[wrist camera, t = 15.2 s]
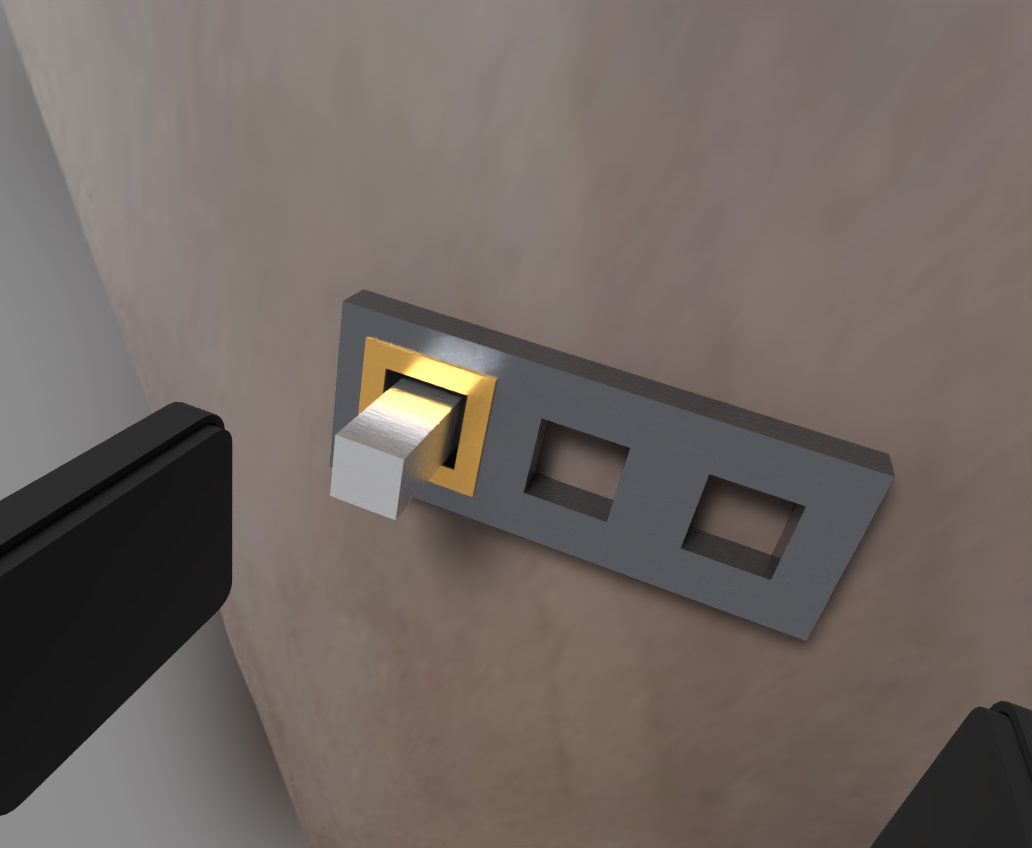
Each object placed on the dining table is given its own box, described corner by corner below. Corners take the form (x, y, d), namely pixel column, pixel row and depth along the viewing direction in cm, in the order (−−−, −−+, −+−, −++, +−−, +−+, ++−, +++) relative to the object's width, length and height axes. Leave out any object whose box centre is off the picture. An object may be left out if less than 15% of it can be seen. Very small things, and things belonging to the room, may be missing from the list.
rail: (889, 454, 41) (895, 478, 38) (805, 614, 47) (806, 643, 44) (363, 289, 47) (341, 302, 44) (348, 449, 53) (328, 468, 50)
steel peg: (473, 385, 47) (404, 459, 39) (463, 438, 49) (395, 520, 41) (416, 366, 48) (335, 434, 39) (408, 419, 50) (330, 495, 41)
